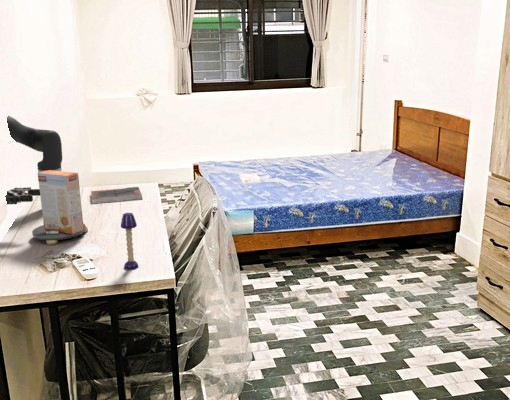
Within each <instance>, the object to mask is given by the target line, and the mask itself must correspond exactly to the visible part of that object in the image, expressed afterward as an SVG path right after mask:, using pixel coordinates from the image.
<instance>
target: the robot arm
mask: <svg viewBox="0 0 510 400" xmlns="http://www.w3.org/2000/svg"><path fill="white" fill-rule="evenodd" d="M7 123H8V128H9V131H10V135H11V137H12V138H13V139H14V140H15V141H16V142H15V143H19V144H20V145H21V144H22V145H23V146H26V147H28V148H30V149H32V150H34V151H36V152H41V153H42V159H41V160H40V161H38V162H37V171H38V172H37V174H38V173H39V172H43V171H47V170H54V171H63V170H62V162H63V148H62V147H63V146H62V139H61V138H62V137H61V136H60V134H59V133H58V132H57V131H55V130H52V129H38V128H34V127H29V126H26V125H24V124H22V123H21V122H19V121H18V120H17V119H16V118H14V117H12V116H9V115H8V117H7ZM35 196H36V197H37V196H40V189H39V188H33V189H32V187H31V186H30V187H14V188H11V189H10V190H8V191H7V195H6V196H5V197H6V201H7V204H6V205H17V204H20V203H28V202H29V203H32V202H33V201H34V198H33V197H35Z"/></svg>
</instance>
